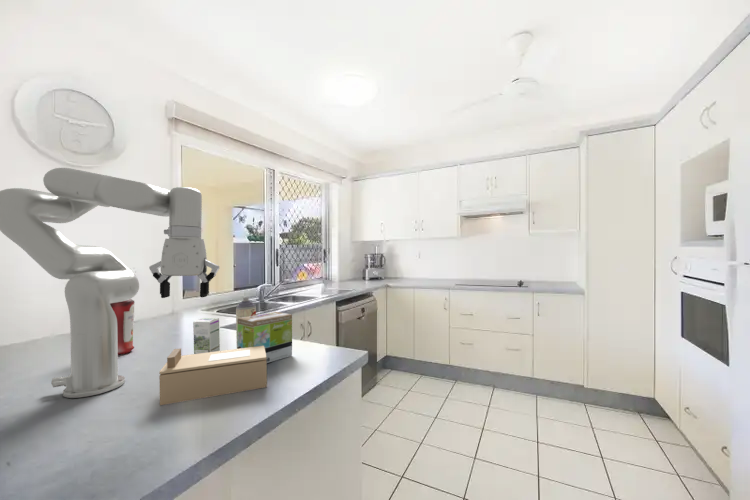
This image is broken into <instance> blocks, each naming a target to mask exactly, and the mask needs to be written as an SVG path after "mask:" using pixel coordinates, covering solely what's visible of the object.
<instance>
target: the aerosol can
mask: <svg viewBox="0 0 750 500" xmlns="http://www.w3.org/2000/svg"><path fill="white" fill-rule="evenodd" d="M242 298H243V299H242V301H240V302H239V303H238V305H236V308H235V323H236V325H235V326H236V327H235V329H236V330H235V332H236V333H235V334H236V336H235V337H236V340H237V335H238V318H242V317H248V316H254V315H257V306H256V304H255V303H254V302H252V301H251V300H250V299H249V296H243V297H242Z"/></svg>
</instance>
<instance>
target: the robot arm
mask: <svg viewBox="0 0 750 500" xmlns="http://www.w3.org/2000/svg"><path fill="white" fill-rule="evenodd" d="M42 181H43V182H42V183H43V185H44V186H45V187H44V188H45V189H46V190H47V191H49V192H45V191H42V190H37V189H36V190H35V189H30V188H29V189H28V188H21V187H20V188H19V187H17V188H16V187H14V188H6V189H2V190H0V232H1V233H2V234H3V235H4V236H5V237H6V238H8V239H9V240H10V241H12V242H13V243H15V244H16V245H17V246H18V247H20V248H21V249H22V250H23V252H25V253H26V254H27V255H28V256H29V257H30V258H31V259H32V260H34V261H35V262H36V263H37V264H38V265H39V266H40V267H41V268H42V269H43V270H44V271H46V273H48V274H49V275H50V276H51V277H53V278H54V279H55V278H56V279H58V280H68V281H67V282H66V284H65V287H64V297H65V301H66V305H67V307H68V313H69V325H70V326H69V327H70V329H69V330H70V331H69V332H70V374H68V375H67V376H58V377H53V378H52V379H51V386H52V388H58V387H63V386H64V387H65V388H64V389H63V391H62V396H63V397H64V398H67V399H69V398H70V399H77V398H78V399H79V398H86V397H92V396H95V395H100V394H103V393H107V392H110V391H113V390H115V389H117V388H119V387H121V386H123V385H124V384H125V382H126V377H125V376H124V375H120V374H119V364H118V362H119V361H118V360H119V358H118V356H119V355H118V339H117V318H116V315H115V312H114V311H113V309H112V307H111V305H110V304H112V303H117V302H122V301H126V300H129V299H133V298H134V297H135V296H136V295H137V294H138V292H139V289H140V283H139V279H138V277H137V276H136V275H135V273H134V272H133V271H132V270H131V269H130V268H129V267H128V266H127V265H125V263H123V262H122V261H121V260H120V259H119V258H118V257H117V256H116V255H114V253H112V252H111V251H109V250H108V249H106V248H103V247H101V246H96V245H81V244H75V243H73V242H72V241H71V240H69V239H68V238H67V237H66V236H64V235H63V234H62V233H61V231H59V230H58V229H56V228H54V227H53V226H51V225H49V224H50V223H52V224H67V223H71V222H73V221H75V220H77V219H79V218H80V217H82V216H83V215H85V214H86V213H87V214H88V212H90V211H92V210H93V209H96V207H98V206H100V207H103V208H104V207H105V208H109V207H111V208H117V209H120V210H121V209H123V210H125V211H131V212H136V213H142V214H147V215H153V216H158V217H165V218H166V217H169V218H168V219H169V221H168V228H167V229H164V230H163V234H164V235H167V237H168V238H165V240H164V243H163V247H162V251H161V258H160V259H161V260H160V261H158V262H156V263H154V264H152V265H150V266H149V270H150V273H151V274H152V277H153V278H154V279H155V280H157V282H158V283H159V295H160V298H161V299H165V298H169V297H170V296H171V282H170V281H169V280H170V279H171V278H172V277H194V276H195V277H196V276H197V277H198V278H199V279H200V280H201V282H200V284H199V287H200V288H199V297H200V298H205V297H207V296H208V294H209V293H210V282H211V280H212V279H214V277H216V275H217V274H218V271H219V269H220V266H219V265H218V264H215V262H212V261H209V260H208V259H207V250H206V244H205V241H204V239H202V214H203V213H202V209H203V208H202V202H203V201H202V200H203V199H202V192H201V191H200V190H198V189H197V188H192V187H184V186H183V187H181V186H179V187H178V186H177V187H173V188H171V189H167V188H161V187H159V186H155V185H152V184H149V183H144V182H140V181H136V180H131V179H125V178H120V177H114V176H111V175H107V174H101V173H97V172H96V173H95V172H91V171H86V170H85V171H84V170H81V169H76V168H69V167H55V168H53V169H50V170H49V171H47V172H46V173H45V174H44V176H43V178H42ZM47 223H49V224H47ZM159 268H160V272H159ZM208 268H211V271H210V272H209V273H208V274H207V271H208Z"/></svg>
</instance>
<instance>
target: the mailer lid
mask: <svg viewBox="0 0 750 500" xmlns="http://www.w3.org/2000/svg"><path fill="white" fill-rule="evenodd" d="M166 360H167V361H166V362H165V364H164V365H163V367H162V368H161V369H160V370H159V375H160V374H165V373H173V372H180V371H187V370H194V369H201V368H209V367H216V366H223V365H230V364H237V363H244V362H252V361H259V360H266V352H265V347H264V346H256V347H248V348H240V349H237V348H233V349H225V350H220V351H216V352H207V353H199V354H194V353H192V354H184V355H182V348H181V347H180V348H174V349H173V350H172V351H171V353H170V354H169V355H168V356H167V358H166Z"/></svg>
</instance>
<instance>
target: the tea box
mask: <svg viewBox="0 0 750 500" xmlns="http://www.w3.org/2000/svg"><path fill="white" fill-rule="evenodd" d="M256 346H264V347H265V352H266V362H267V364H268V363H272V362H275V361H278V360H283V359H285V358H290V357H292V355H293V315H292V314H291V313H285V312H280V311H274V312H267V313H261V314H256V315H254V316H248V317H242V318H238V335H237V339H236V349H240V348H248V347H256Z"/></svg>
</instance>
